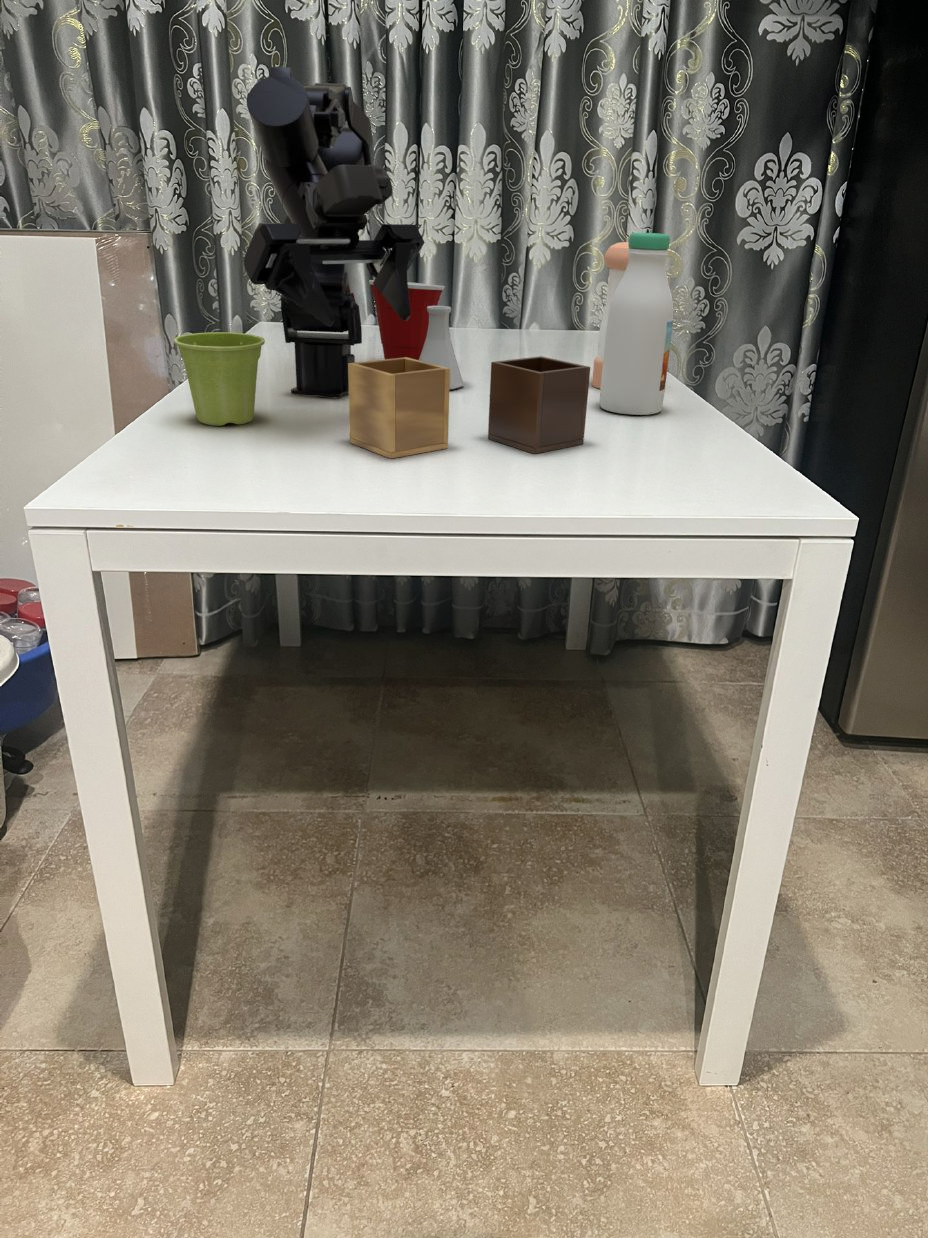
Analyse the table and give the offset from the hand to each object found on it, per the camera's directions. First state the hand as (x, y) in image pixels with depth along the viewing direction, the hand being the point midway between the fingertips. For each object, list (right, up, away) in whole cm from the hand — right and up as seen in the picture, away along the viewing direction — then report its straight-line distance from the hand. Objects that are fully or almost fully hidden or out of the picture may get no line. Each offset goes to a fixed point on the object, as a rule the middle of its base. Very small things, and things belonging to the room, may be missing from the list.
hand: (370, 320), depth 91 cm
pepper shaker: (+31, +2, +34) cm, 46 cm away
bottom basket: (+17, -11, +5) cm, 21 cm away
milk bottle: (+30, -4, +21) cm, 37 cm away
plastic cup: (+1, +7, +42) cm, 42 cm away
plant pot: (-17, -8, +9) cm, 21 cm away
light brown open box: (+3, -12, +2) cm, 13 cm away
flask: (+6, +1, +30) cm, 31 cm away
